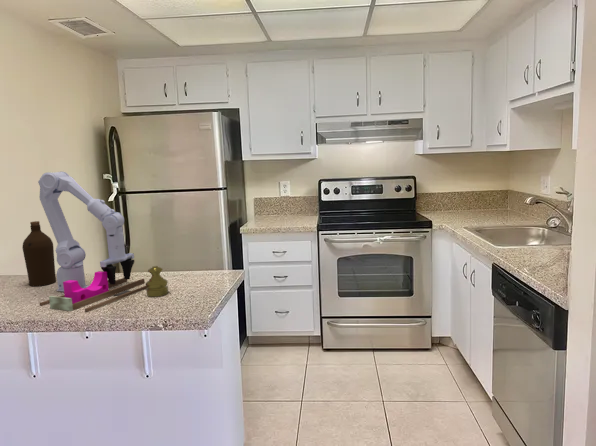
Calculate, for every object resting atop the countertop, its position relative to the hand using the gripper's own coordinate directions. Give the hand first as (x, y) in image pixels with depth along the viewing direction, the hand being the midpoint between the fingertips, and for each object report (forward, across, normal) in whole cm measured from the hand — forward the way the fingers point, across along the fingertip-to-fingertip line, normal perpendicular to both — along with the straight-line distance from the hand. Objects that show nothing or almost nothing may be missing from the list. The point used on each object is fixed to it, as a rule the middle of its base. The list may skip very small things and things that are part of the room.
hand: (120, 281), depth 169 cm
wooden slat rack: (+2, -10, 0) cm, 10 cm away
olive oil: (+3, -3, +38) cm, 38 cm away
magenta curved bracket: (+3, -13, +1) cm, 13 cm away
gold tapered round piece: (+3, -3, -20) cm, 20 cm away
